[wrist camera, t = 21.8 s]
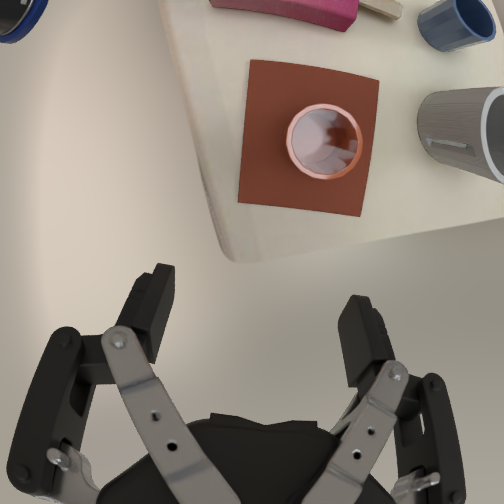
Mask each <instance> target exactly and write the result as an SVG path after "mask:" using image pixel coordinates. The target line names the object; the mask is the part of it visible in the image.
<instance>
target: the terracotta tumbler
mask: <svg viewBox="0 0 504 504" xmlns="http://www.w3.org/2000/svg"><path fill="white" fill-rule="evenodd" d="M282 144H283V147H284V150H285V152H286V153H287V155H288V156H289V158H290V159H291V160H292V161H293V163H294V164H295V165H296V166H297V168H298V169H299V170H300V171H301V172H303V173H305V174H307V175H308V176H310V177H312V178H316V179H323V180H331V179H335V178H339V177H342V176H344V175H345V174H346V173H348V172H349V171H351V170H352V169H353V168H354V167H355V165H356V164H357V162H358V160H359V158H360V157H361V153H362V146H363V138H362V134H361V130H360V127H359V125H358V124H357V122H356V121H355V119H354V118H353V117H352V115H351V114H350V113H348V112H347V111H345V110H344V109H342V108H340V107H339V106H337V105H331V104H326V103H319V104H315V105H310V106H307V107H305V108H303V109H302V110H300V111H298V112H297V113H295V114H294V115H293V116H291V117H290V118H289V119H288V120H287V122H286V123H285V125H284V127H283V130H282Z"/></svg>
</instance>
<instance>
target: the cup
mask: <svg viewBox="0 0 504 504" xmlns="http://www.w3.org/2000/svg"><path fill="white" fill-rule="evenodd" d="M417 121H418V122H417V123H418V124H417V125H418V131H419V136H420V140H421V141H422V144H423V146H424V148H425V149H426V151H427V152H428V153H429V154H430V155H431V156H432V157H433V158H434V159H435V160H437V161H439V162H441V163H444V164H447V165H450V166H453V167H457V168H460V169H463V170H466V171H469V172H472V173H475V174H477V175H480V176H483V177H486V178H488V179H491V180H494V181H496V182H499V183H502V184H504V87H486V88H471V89H459V90H449V91H440V92H435V93H432V94H431V95H429V96H428V97H427V98H426V99H425V100H424V101H423V103H422V104H421V106H420V109H419V112H418V119H417ZM431 138H435V139H442V140H448V141H454V142H459V143H465V144H468V145H467V147H466V149H465V148H460V147H455V146H450V145H445V144H440V143H434V142H432V141H431Z"/></svg>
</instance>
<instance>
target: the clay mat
mask: <svg viewBox="0 0 504 504" xmlns="http://www.w3.org/2000/svg"><path fill="white" fill-rule="evenodd" d="M378 91H379V80H375V79H371V78H367V77H363V76H359V75H355V74H350V73H346V72H341V71H336V70H331V69H325V68H320V67H314V66H307V65H300V64H293V63H285V62H276V61H265V60H250V70H249V80H248V91H247V101H246V112H245V123H244V134H243V146H242V157H241V169H240V181H239V194H238V202H240V203H250V204H260V205H269V206H279V207H288V208H296V209H304V210H313V211H320V212H328V213H336V214H343V215H350V216H357V217H360V215H361V210H362V205H363V200H364V195H365V189H366V183H367V177H368V171H369V165H370V159H371V152H372V145H373V137H374V129H375V121H376V112H377V102H378ZM319 103H326V104H331V105H337V106H339V107H340V108H342V109H344V110H345V111H347V112H348V113H350V114H351V115H352V117H353V118H354V119H355V121H356V122H357V124H358V125H359V127H360V130H361V134H362V138H363V146H362V153H361V157H360V158H359V160H358V162H357V164H356V165H355V167H354V168H353V169H352V170H351V171H349V172H348V173H346V174H345V175H344V176H342V177H339V178H335V179H331V180H323V179H316V178H312V177H310V176H308V175H307V174H305V173H303V172H301V171H300V170H299V169H298V168H297V166H296V165H295V164H294V163H293V161H292V160H291V159H290V158H289V156H288V155H287V153H286V152H285V150H284V147H283V144H282V130H283V127H284V125H285V123H286V122H287V120H288V119H289V118H290V117H291V116H293V115H294V114H295V113H297V112H298V111H300V110H302V109H303V108H305V107H307V106H310V105H315V104H319Z"/></svg>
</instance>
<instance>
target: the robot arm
mask: <svg viewBox="0 0 504 504" xmlns="http://www.w3.org/2000/svg"><path fill="white" fill-rule="evenodd" d="M35 1H36V0H0V35H9V34H11V33H12V32H14V31H15V30H16V29H17V28H18V27H19V26H20V25H21V24H22V23H23V22H24V20H25V19H26V18H27V16H28V15H29V13H30V11H31V10H32V8H33V6H34V3H35ZM174 293H175V267H174V266H172V265H166V264H161V263H157V265H156V267H155V269H154V272H153V274H150V273H143V274H142V275H141V276H140V277H139V278H137V279H136V281H135V283H134V285H133V287H132V290H131V292H130V294H129V297H128V298H127V300H126V302H125V304H124V306H123V309H122V311H121V313H120V315H119V317H118V320H117V322H116V324H115V326H113V327H111V328H109V329H108V330H106V331H105V332H104V334H101V335H86V336H81V335H80V333H79V332H78V331H77V330H76V329H75V328H73V327H61V328H59V329H57V330H56V331H54V332H53V334H52V335H51V337H50V339H49V341H48V343H47V346H46V348H45V350H44V353H43V355H42V357H41V360H40V362H39V365H38V367H37V369H36V372H35V374H34V377H33V379H32V382H31V385H30V388H29V390H28V393H27V396H26V399H25V402H24V404H23V408H22V410H21V414H20V417H19V420H18V423H17V427H16V430H15V434H14V437H13V441H12V445H11V449H10V453H9V458H8V461H7V467H6V469H7V475H8V478H9V480H10V482H11V483H12V485H13V486H14V487H15V488H16V489H18V490H19V491H21V492H24V493H27V494H30V495H32V496H33V497H37V498H40V499H44V500H48V501H54V502H56V503H58V504H464V503H465V500H466V487H465V478H464V470H463V463H462V457H461V451H460V445H459V440H458V435H457V430H456V425H455V421H454V417H453V412H452V408H451V404H450V400H449V396H448V392H447V389H446V385H445V382H444V380H443V379H442V378H441V377H440V376H439V375H437V374H435V373H428V374H427V375H426V376H425V377H423V378H420V377H416V376H413V375H410V374H408V371H407V369H406V368H405V366H404V365H403V364H401V363H400V362H398V361H396V359H395V355H394V352H393V349H392V346H391V342H390V339H389V336H388V335H387V330H386V328H385V324H384V321H383V318H382V316H381V315H380V313H379V312H378V311H377V310H376V309H375V308H372V305H371V302H370V299H369V297H367V296H360V295H352V296H351V297H350V299H349V301H348V302H347V305H346V306H345V308H344V310H343V311H342V313H341V315H340V317H339V320H338V332H339V336H340V342H341V347H342V353H343V358H344V364H345V369H346V375H347V381H348V387H357V388H358V392H357V393H356V394H355V396H354V398H353V399H352V401H351V403H350V404H349V406H348V407H347V409H346V410H345V412H344V413H343V415H342V417H341V418H340V419H339V421H338V422H337V424H336V425H335V426H334V427H333V428H332V429H331V430H330V432H328V431H326V430H323V429H321V428H318V427H317V421H295V420H292V421H287V422H282V423H276V424H271V425H263V424H260V423H256V422H253V421H250V420H247V419H244V418H241V417H238V416H232V415H224V414H217V413H211V414H210V419H202V420H197V421H194V422H191V423H188V424H185V422H184V421H183V419H182V417H181V416H180V414H179V412H178V411H177V409H176V407H175V405H174V404H173V402H172V400H171V398H170V397H169V395H168V393H167V391H166V389H165V388H164V386H163V384H162V382H161V381H160V379H159V378H158V377H156V376H155V374H154V372H153V370H152V368H151V366H150V364H149V363H152V364H155V361H156V358H157V354H158V351H159V347H160V344H161V341H162V337H163V334H164V331H165V327H166V324H167V321H168V317H169V314H170V311H171V308H172V305H173V301H174ZM97 384H117V387H118V389H119V392H120V395H121V397H122V399H123V402H124V404H125V406H126V408H127V410H128V413H129V415H130V417H131V419H132V421H133V423H134V425H135V427H136V429H137V431H138V433H139V435H140V437H141V439H142V441H143V443H144V445H145V447H146V449H147V450H148V452H149V453H148V454H147V455H145V456H144V457H143V458H141V459H140V460H139V461H138V462H136V463H135V464H133V465H132V466H131V467H129V468H128V469H127V470H125V471H124V472H123V473H121V474H120V475H119V476H117V477H116V478H114V479H113V480H111V481H110V482H109V483H107V484H106V485H105V486H104V487H103V488H102V489H101V490H100V489H99V488H98V487H97V486H96V485H95V484H94V482H93V480H92V476H91V465H90V463H89V461H88V459H87V458H86V457H85V456H84V455H83V454H81V453H80V448H81V443H82V438H83V434H84V430H85V426H86V421H87V418H88V414H89V410H90V406H91V402H92V399H93V395H94V391H95V388H96V385H97ZM420 414H422V416H423V422H424V427H425V431H424V435H423V432H422V426H421V420H420ZM392 429H394V437H395V446H396V455H397V466H398V480H397V482H396V483H395V485H394V488H393V489H392V490H391V495H390V494H389V493H388V492H387V491H386V490H385V489H384V488H383V487H382V486H381V485H380V484H379V483H378V481H377V480H376V479H374V477H373V476H372V475H371V474H370V471H371V469H372V468H373V466H374V464H375V462H376V460H377V459H378V457H379V455H380V453H381V451H382V449H383V447H384V446H385V444H386V441H387V440H388V438H389V436H390V434H391V431H392Z"/></svg>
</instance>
